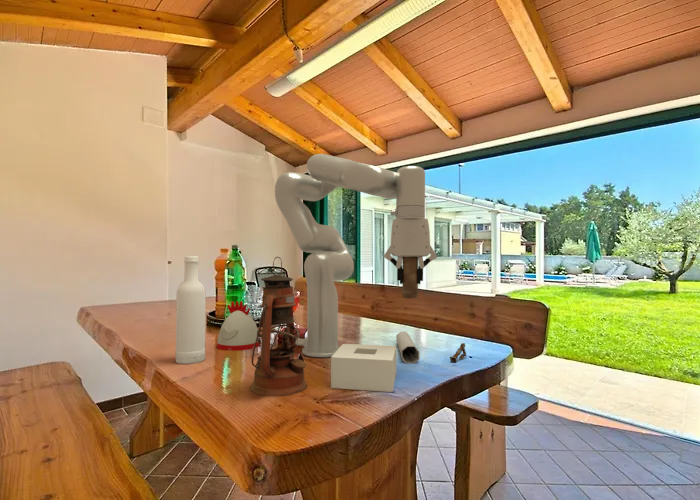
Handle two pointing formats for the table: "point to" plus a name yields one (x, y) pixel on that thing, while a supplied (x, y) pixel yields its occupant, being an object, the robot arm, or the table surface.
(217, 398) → the table surface
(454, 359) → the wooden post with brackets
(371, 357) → the bore block
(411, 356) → the tube
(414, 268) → the pin
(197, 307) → the bottle
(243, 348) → the white and red dome
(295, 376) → the lantern
